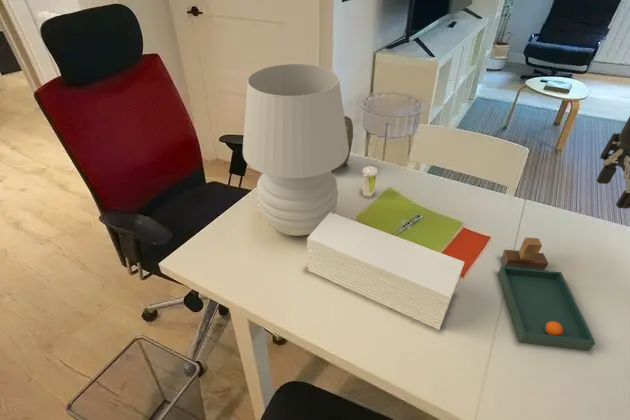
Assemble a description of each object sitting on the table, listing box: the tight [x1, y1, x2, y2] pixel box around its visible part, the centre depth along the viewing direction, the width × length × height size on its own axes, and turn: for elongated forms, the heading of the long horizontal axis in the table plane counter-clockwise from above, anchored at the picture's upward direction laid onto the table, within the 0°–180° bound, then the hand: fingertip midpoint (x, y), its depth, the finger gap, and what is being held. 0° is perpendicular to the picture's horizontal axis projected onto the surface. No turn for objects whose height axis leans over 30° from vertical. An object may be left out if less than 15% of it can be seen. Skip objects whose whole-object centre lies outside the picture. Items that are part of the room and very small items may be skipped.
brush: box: [500, 236, 549, 270], centre depth 88 cm, size 9×4×8 cm, turn 82°
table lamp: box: [242, 63, 349, 237], centre depth 91 cm, size 25×25×40 cm
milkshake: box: [362, 165, 381, 198], centre depth 111 cm, size 4×5×10 cm
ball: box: [545, 321, 563, 336], centre depth 75 cm, size 3×3×3 cm
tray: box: [497, 265, 596, 352], centre depth 80 cm, size 13×18×3 cm
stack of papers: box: [306, 212, 465, 331], centre depth 83 cm, size 32×11×11 cm, turn 59°
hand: (611, 194), depth 76 cm, fingers open, 8 cm apart
